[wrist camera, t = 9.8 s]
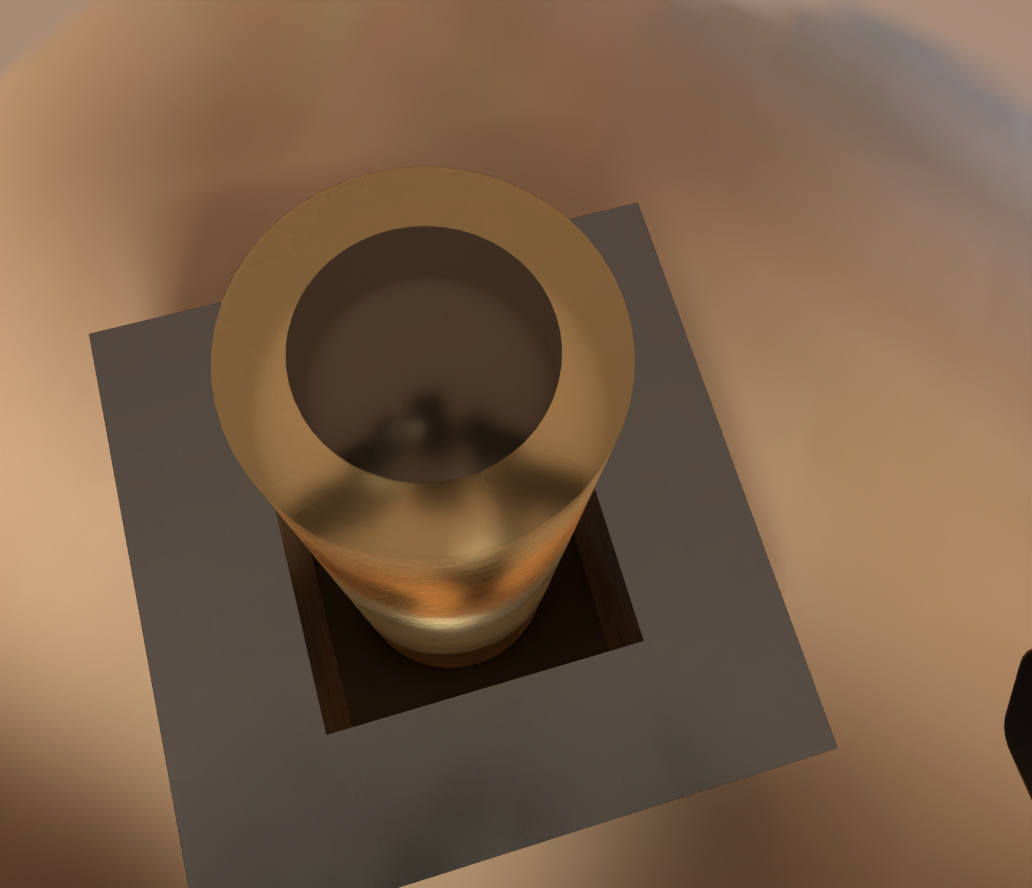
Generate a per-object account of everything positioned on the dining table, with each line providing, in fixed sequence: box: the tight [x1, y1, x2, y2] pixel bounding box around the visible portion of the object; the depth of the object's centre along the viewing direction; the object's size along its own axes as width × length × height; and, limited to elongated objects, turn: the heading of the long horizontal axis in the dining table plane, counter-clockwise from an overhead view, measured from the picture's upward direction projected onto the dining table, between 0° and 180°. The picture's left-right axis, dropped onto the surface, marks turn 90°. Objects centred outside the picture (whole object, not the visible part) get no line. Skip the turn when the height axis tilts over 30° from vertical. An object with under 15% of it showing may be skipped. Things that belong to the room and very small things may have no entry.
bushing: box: [211, 167, 635, 668], centre depth 15 cm, size 4×4×12 cm
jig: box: [89, 203, 837, 888], centre depth 19 cm, size 11×11×4 cm
